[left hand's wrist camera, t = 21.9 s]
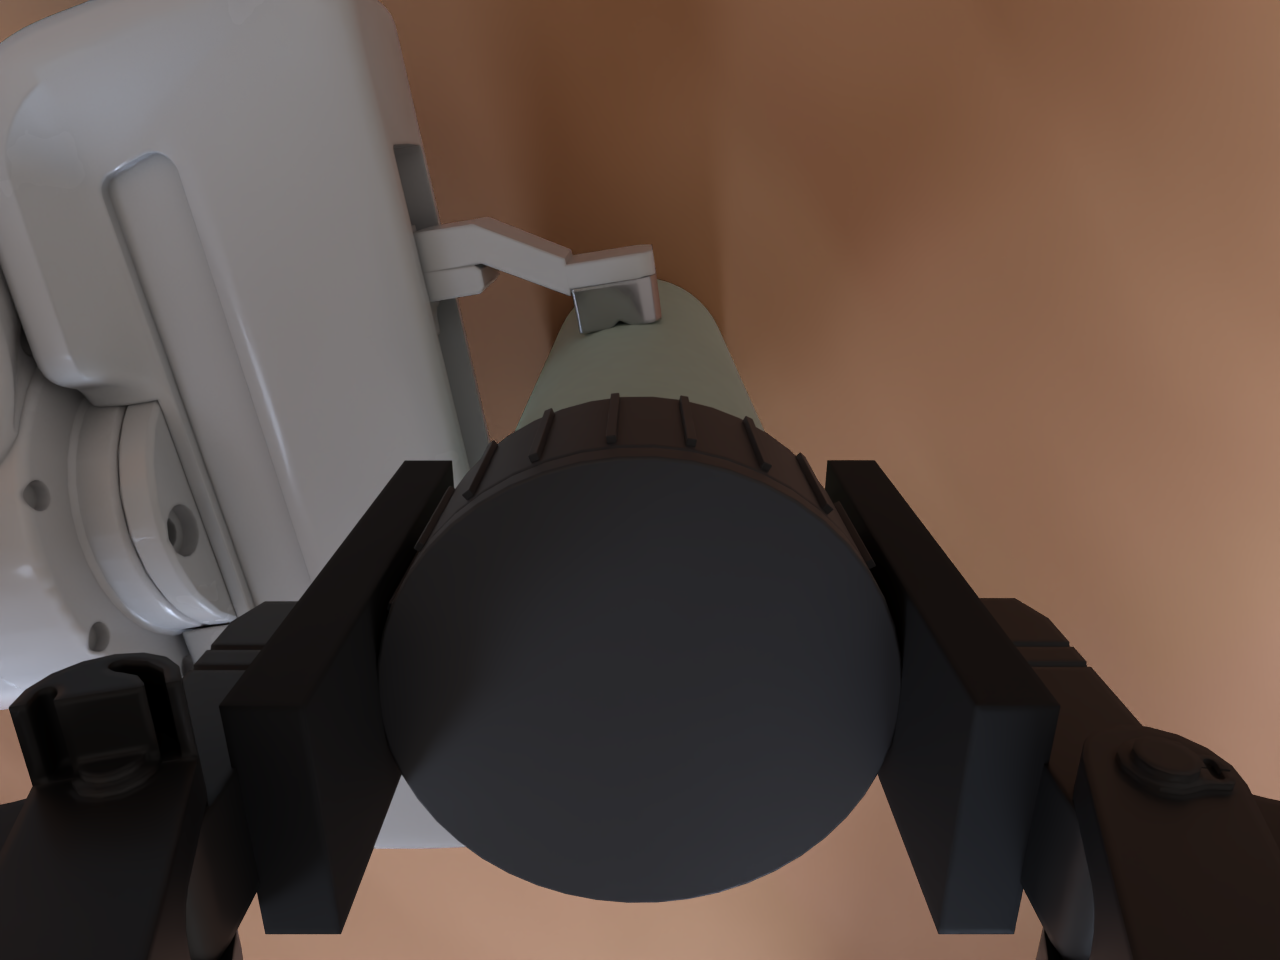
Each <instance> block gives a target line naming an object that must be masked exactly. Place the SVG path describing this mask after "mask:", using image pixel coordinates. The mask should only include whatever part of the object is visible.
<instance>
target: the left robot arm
mask: <svg viewBox="0 0 1280 960" xmlns="http://www.w3.org/2000/svg"><path fill="white" fill-rule="evenodd" d="M449 486H451V487H453V488H454V478H453V466H452V460H405V461H404V462H403V463H402V465H401V466H400V467H399V469H398V470H397V471H396V473H395V474H394V475H393V477H392V478H391V479H390V481H389V482H388V483H387V485H386V486H385V487H384V488H383V490H382V491H381V492H380V494H379V495H378V496H377V498H376V499H375V500H374V502H373V503H372V504H371V506H370V507H369V508H368V510H367V511H366V512H365V514H364V515H363V516H362V517H361V519H360V520H359V521H358V523H357V524H356V525H355V527H354V528H353V529H352V531H351V532H350V533H349V535H348V536H347V537H346V539H345V540H344V541H343V543H342V544H341V545H340V546H339V548H338V549H337V550H336V552H335V553H334V554H333V556H332V557H331V558H330V560H329V561H328V562H327V564H326V565H325V566H324V568H323V569H322V570H321V572H320V573H319V574H318V576H317V577H316V578H315V579H314V581H313V582H312V583H311V585H310V586H309V587H308V589H307V590H306V591H305V593H304V594H303V595H302V597H301V598H300V599H299V601H264V602H263V603H261V604H259V605H258V606H256V607H254V608H253V609H251V610H250V611H248V612H246V613H245V614H243V615H241V616H240V617H238V618H236V619H235V620H233V621H231V622H230V624H229V625H228V626H227V627H226V628H225V629H224V631H223V632H222V633H221V634H220V635H219V636H218V637H217V639H216V640H215V641H214V642H213V643H212V644H211V649H210V650H206V651H205V652H204V654H203V655H202V656H201V657H200V658H199V659H198V661H197V662H196V663H195V664H194V668H193V670H189V671H188V672H187V673H186V674H185V676H184V677H183V678H182V676H181V671H180V667H179V666H178V665H177V664H176V663H174V662H173V661H172V660H170V659H169V658H168V657H166V656H161V655H155V654H150V653H145V652H142V653H124V654H113V655H108V656H104V657H100V658H95V659H91V660H86V661H82V662H80V663H77V664H75V665H72V666H70V667H67V668H65V669H62V670H59V671H57V672H54V673H52V674H50V675H48V676H47V677H45V678H43V679H42V680H40V681H39V682H37V683H35V684H34V685H32V686H30V687H29V688H27V689H25V690H24V691H23V692H22V694H21V695H20V696H19V697H18V698H17V699H16V700H15V701H14V702H13V703H12V704H11V705H10V706H9V711H10V714H11V717H12V720H13V724H14V727H15V730H16V733H17V737H18V740H19V743H20V746H21V750H22V753H23V756H24V759H25V763H26V766H27V769H28V772H29V776H30V779H31V782H32V785H33V787H32V789H31V791H30V793H29V795H28V797H27V799H23V800H20V801H16V802H12V803H7V804H2V805H0V960H243V955H242V948H241V944H240V939H239V935H238V930H237V929H238V927H239V925H240V923H241V921H242V919H243V918H244V916H245V914H246V912H247V910H248V908H249V906H250V904H251V902H252V900H253V898H254V896H255V894H256V892H257V895H258V900H259V905H260V909H261V914H262V919H263V924H264V929H265V934H341V932H342V930H343V927H344V925H345V922H346V919H347V917H348V914H349V912H350V909H351V906H352V904H353V901H354V898H355V896H356V893H357V891H358V888H359V885H360V883H361V880H362V877H363V875H364V872H365V870H366V867H367V864H368V862H369V859H370V856H371V854H372V851H373V849H374V846H375V843H376V841H377V838H378V835H379V833H380V830H381V828H382V825H383V822H384V820H385V817H386V814H387V812H388V809H389V807H390V804H391V801H392V799H393V796H394V793H395V791H396V788H397V786H398V783H399V780H400V778H401V775H402V774H401V772H400V770H399V768H398V765H397V763H396V761H395V759H394V757H393V755H392V753H391V750H390V748H389V745H388V741H387V738H386V735H385V731H384V725H383V718H382V711H381V703H380V695H379V686H378V676H377V660H378V654H379V649H380V643H381V637H382V631H383V628H384V625H385V622H386V620H387V617H388V614H389V611H388V610H387V607H388V603H389V601H390V599H391V598H392V596H393V594H394V592H395V590H396V589H397V587H398V585H399V583H400V581H401V580H402V578H403V576H404V574H405V572H406V571H407V569H408V567H409V565H410V563H411V562H412V560H413V558H414V556H415V554H416V553H417V550H415V549H414V546H415V545H416V543H417V541H418V539H419V538H420V536H421V534H422V532H423V531H424V529H425V527H426V525H427V524H428V522H429V520H430V518H431V517H432V515H433V513H434V511H435V510H436V508H437V506H438V504H439V503H440V501H441V499H442V497H443V496H444V494H445V492H446V490H447V489H448V487H449ZM825 490H826V492H827V493H828V495H829V497H830V499H831V501H832V502H833V504H834V503H836V502H838V501H840V503H841V505H842V507H843V508H844V510H845V512H846V514H847V515H848V517H849V519H850V521H851V522H852V524H853V526H854V528H855V529H856V531H857V533H858V535H859V536H860V538H861V540H862V542H863V544H864V545H865V547H866V549H867V551H868V552H869V554H870V556H871V558H872V559H873V561H874V563H875V565H876V566H875V567H873V568H871V569H869V570H870V572H871V573H872V575H873V577H874V579H875V581H876V583H877V584H878V586H879V588H880V590H881V592H882V594H883V595H884V597H885V600H886V602H887V605H888V608H889V611H890V613H891V616H892V619H893V621H894V624H895V627H896V632H897V637H898V642H899V647H900V652H901V662H902V681H901V690H900V698H899V706H898V714H897V721H896V728H895V732H894V736H893V739H892V743H891V746H890V748H889V750H888V753H887V755H886V757H885V759H884V762H883V764H882V766H881V769H880V771H879V772H878V776H879V779H880V782H881V784H882V787H883V790H884V792H885V795H886V797H887V800H888V803H889V805H890V808H891V811H892V813H893V816H894V818H895V821H896V824H897V826H898V829H899V832H900V834H901V837H902V839H903V842H904V845H905V847H906V850H907V853H908V855H909V858H910V860H911V863H912V866H913V868H914V871H915V874H916V876H917V879H918V881H919V884H920V887H921V889H922V892H923V895H924V897H925V900H926V902H927V905H928V908H929V910H930V913H931V915H932V918H933V921H934V923H935V926H936V929H937V931H938V934H1014V931H1015V926H1016V921H1017V916H1018V912H1019V907H1020V902H1021V897H1022V892H1023V889H1024V891H1025V893H1026V895H1027V897H1028V899H1029V900H1030V902H1031V904H1032V906H1033V908H1034V910H1035V912H1036V914H1037V916H1038V918H1039V920H1040V922H1041V924H1042V926H1043V930H1042V935H1041V939H1040V944H1039V948H1038V953H1037V957H1036V960H1280V801H1278V800H1273V799H1268V798H1264V797H1260V796H1256V795H1253V794H1252V793H1251V791H1250V789H1249V787H1248V785H1247V784H1246V783H1245V781H1244V780H1243V779H1242V778H1241V776H1240V775H1239V774H1238V773H1237V771H1236V770H1235V769H1234V768H1233V766H1232V765H1230V764H1229V763H1227V762H1226V761H1225V760H1223V759H1222V758H1220V757H1219V756H1218V755H1216V754H1215V753H1213V752H1212V751H1211V750H1209V749H1208V748H1206V747H1204V746H1201V745H1199V744H1197V743H1195V742H1193V741H1190V740H1188V739H1186V738H1184V737H1182V736H1179V735H1177V734H1173V733H1169V732H1166V731H1162V730H1158V729H1154V728H1150V727H1145V726H1142V725H1141V724H1140V723H1139V721H1138V720H1137V719H1136V718H1135V717H1134V716H1133V715H1132V713H1131V712H1130V711H1129V710H1128V709H1127V708H1126V706H1125V705H1124V704H1123V703H1122V702H1121V701H1120V700H1119V698H1118V697H1117V696H1116V695H1115V694H1114V693H1113V692H1112V690H1111V689H1110V688H1109V687H1108V686H1107V685H1106V684H1105V682H1104V681H1103V680H1102V679H1101V678H1100V677H1099V676H1098V674H1097V673H1096V672H1095V671H1094V670H1093V669H1092V668H1091V667H1087V665H1086V661H1085V660H1084V658H1083V657H1082V656H1081V655H1080V654H1079V653H1078V652H1077V650H1076V649H1075V648H1074V647H1070V646H1069V641H1068V640H1067V639H1066V638H1065V637H1064V636H1063V634H1062V633H1061V632H1060V631H1059V630H1058V629H1057V628H1056V626H1055V625H1054V624H1053V623H1052V622H1051V621H1050V620H1049V618H1047V617H1045V616H1044V615H1042V614H1040V613H1039V612H1037V611H1035V610H1034V609H1032V608H1030V607H1029V606H1027V605H1025V604H1024V603H1022V602H1020V601H1019V600H1017V599H1015V598H979V597H978V596H977V595H976V593H975V592H974V591H973V589H972V588H971V587H970V585H969V584H968V583H967V582H966V580H965V579H964V578H963V576H962V575H961V574H960V572H959V571H958V570H957V568H956V567H955V566H954V564H953V563H952V562H951V560H950V559H949V558H948V556H947V555H946V554H945V552H944V551H943V550H942V549H941V547H940V546H939V545H938V543H937V542H936V541H935V539H934V538H933V537H932V535H931V534H930V533H929V531H928V530H927V529H926V527H925V526H924V525H923V523H922V522H921V521H920V519H919V518H918V517H917V516H916V514H915V513H914V512H913V510H912V509H911V508H910V506H909V505H908V504H907V502H906V501H905V500H904V498H903V497H902V496H901V494H900V493H899V492H898V490H897V489H896V488H895V487H894V485H893V484H892V483H891V481H890V480H889V479H888V477H887V476H886V475H885V473H884V472H883V471H882V469H881V468H880V467H879V465H878V464H877V463H876V461H875V460H827V472H826V484H825Z"/></svg>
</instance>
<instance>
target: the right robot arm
mask: <svg viewBox="0 0 1280 960" xmlns="http://www.w3.org/2000/svg"><path fill="white" fill-rule="evenodd" d="M499 270H500V271H503V272H506V273H508V274H511V275H514V276H517V277H519V278H522V279H525V280H528V281H530V282H533V283H536V284H538V285H541V286H544V287H547V288H549V289H552V290H555V291H558V292H560V293H563V294H566V295H568V296H571V294H572V297H573V302H574V307H575V312H576V317H577V321H578V326H579V331H580V334H582V333H589V332H596V331H602V330H605V329H609V328H612V327H613V326H614V325H616V324H617V323H618V322H619V321H622V322H624V323H627V324H629V325H642V324H647V323H651V322H655V321H657V320H659V319H661V318H662V313H661V305H660V297H659V290H658V282H657V275H656V268H655V262H654V255H653V249H652V245H650V244H647V245H633V246H627V247H620V248H614V249H608V250H601V251H595V252H589V253H583V254H576V255H572V251H571V249H569V248H566V247H564V246H561V245H559V244H556V243H554V242H551V241H549V240H546V239H544V238H541V237H539V236H536V235H534V234H531V233H529V232H526V231H524V230H521V229H519V228H516V227H514V226H511V225H509V224H506V223H504V222H501V221H499V220H496V219H494V218H491V217H483V218H477V219H471V220H465V221H459V222H452V223H446V224H441V222H440V218H439V213H438V209H437V204H436V200H435V196H434V191H433V187H432V182H431V178H430V174H429V169H428V165H427V160H426V156H425V152H424V147H423V143H422V138H421V134H420V130H419V125H418V121H417V116H416V112H415V108H414V103H413V99H412V95H411V90H410V86H409V81H408V77H407V73H406V68H405V64H404V59H403V55H402V50H401V46H400V41H399V37H398V33H397V29H396V25H395V22H394V20H393V17H392V15H391V14H390V12H389V11H388V10H387V8H386V7H385V6H384V5H383V4H382V3H381V2H379V1H378V0H90V1H87V2H85V3H82V4H79V5H77V6H74V7H71V8H69V9H66V10H64V11H61V12H59V13H56V14H53V15H51V16H48V17H46V18H43V19H41V20H39V21H37V22H35V23H33V24H30V25H28V26H26V27H24V28H22V29H21V30H19V31H17V32H16V33H14V34H12V35H11V36H9V37H8V38H6V39H5V40H4V41H2V42H1V43H0V710H4V709H9V706H10V705H11V704H12V703H13V702H14V701H15V700H16V699H17V698H18V697H19V696H20V695H21V694H22V692H23V691H24V690H25V689H27V688H29V687H30V686H32V685H34V684H35V683H37V682H39V681H40V680H42V679H43V678H45V677H47V676H48V675H50V674H52V673H54V672H57V671H59V670H62V669H65V668H67V667H70V666H72V665H75V664H77V663H80V662H82V661H86V660H91V659H95V658H100V657H104V656H108V655H113V654H124V653H142V652H145V653H150V654H155V655H161V656H166V657H168V658H169V659H170V660H172V661H173V662H174V663H176V664H177V665H178V666H179V667H180V671H181V676H182V678H183V677H184V676H185V674H186V673H187V672H188V671H189V670H193V668H194V664H195V663H196V662H197V661H198V659H199V658H200V657H201V656H202V655H203V654H204V652H205V651H206V650H210V649H211V644H212V643H213V642H214V641H215V640H216V639H217V637H218V636H219V635H220V634H221V633H222V632H223V631H224V629H225V628H226V627H227V626H228V625H229V624H230V622H231V621H233V620H235V619H236V618H238V617H240V616H241V615H243V614H245V613H246V612H248V611H250V610H251V609H253V608H254V607H256V606H258V605H259V604H261V603H263V602H264V601H299V599H300V598H301V597H302V595H303V594H304V593H305V591H306V590H307V589H308V587H309V586H310V585H311V583H312V582H313V581H314V579H315V578H316V577H317V576H318V574H319V573H320V572H321V570H322V569H323V568H324V566H325V565H326V564H327V562H328V561H329V560H330V558H331V557H332V556H333V554H334V553H335V552H336V550H337V549H338V548H339V546H340V545H341V544H342V543H343V541H344V540H345V539H346V537H347V536H348V535H349V533H350V532H351V531H352V529H353V528H354V527H355V525H356V524H357V523H358V521H359V520H360V519H361V517H362V516H363V515H364V514H365V512H366V511H367V510H368V508H369V507H370V506H371V504H372V503H373V502H374V500H375V499H376V498H377V496H378V495H379V494H380V492H381V491H382V490H383V488H384V487H385V486H386V485H387V483H388V482H389V481H390V479H391V478H392V477H393V475H394V474H395V473H396V471H397V470H398V469H399V467H400V466H401V465H402V463H403V462H404V461H405V460H452V466H453V478H454V489H455V488H456V487H457V486H458V484H459V483H460V482H461V480H462V479H463V477H464V476H465V475H466V473H467V472H468V471H469V470H470V469H471V468H472V467H473V466H474V465H475V464H476V463H477V462H478V461H479V460H480V459H481V457H482V455H483V453H484V451H485V449H486V447H487V445H488V444H489V443H490V437H489V433H488V429H487V424H486V420H485V415H484V411H483V407H482V402H481V398H480V393H479V389H478V385H477V380H476V376H475V371H474V367H473V363H472V358H471V354H470V349H469V345H468V341H467V336H466V332H465V327H464V323H463V319H462V314H461V310H460V305H459V301H458V297H464V296H470V295H475V294H481V293H482V292H483V291H484V290H485V289H486V288H487V287H488V286H489V285H490V284H492V283H493V282H494V281H495V280H496V279H497V277H498V276H499V275H500V273H499ZM456 847H466V846H464V845H463V844H461V843H460V842H459V841H457V840H456V839H455V838H454V837H453V836H452V835H451V834H450V833H449V832H448V831H446V830H445V829H444V828H443V827H442V826H441V825H440V824H439V823H438V822H437V821H436V820H435V819H434V818H433V817H432V815H431V814H430V813H429V812H428V811H427V810H426V808H425V807H424V806H423V805H422V804H421V803H420V801H419V800H418V799H417V797H416V796H415V794H414V793H413V791H412V790H411V788H410V787H409V785H408V784H407V782H406V780H405V779H404V777H403V776H402V775H401V778H400V780H399V783H398V786H397V788H396V791H395V793H394V796H393V799H392V801H391V804H390V807H389V809H388V812H387V814H386V817H385V820H384V822H383V825H382V828H381V830H380V833H379V835H378V838H377V841H376V843H375V846H374V849H430V848H456Z"/></svg>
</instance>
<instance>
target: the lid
mask: <svg viewBox="0 0 1280 960" xmlns="http://www.w3.org/2000/svg"><path fill="white" fill-rule="evenodd" d="M414 549H415V550H417V553H416V554H415V556H414V558H413V560H412V562H411V563H410V565H409V567H408V569H407V571H406V572H405V574H404V576H403V578H402V580H401V581H400V583H399V585H398V587H397V589H396V590H395V592H394V594H393V596H392V598H391V599H390V601H389V603H388V607H387V610H388V611H389V614H388V617H387V620H386V622H385V625H384V628H383V631H382V637H381V643H380V649H379V654H378V660H377V676H378V686H379V695H380V703H381V711H382V718H383V725H384V731H385V735H386V738H387V741H388V745H389V748H390V750H391V753H392V755H393V757H394V759H395V761H396V763H397V765H398V768H399V770H400V772H401V774H402V776H403V777H404V779H405V780H406V782H407V784H408V785H409V787H410V788H411V790H412V791H413V793H414V794H415V796H416V797H417V799H418V800H419V801H420V803H421V804H422V805H423V806H424V807H425V808H426V810H427V811H428V812H429V813H430V814H431V815H432V817H433V818H434V819H435V820H436V821H437V822H438V823H439V824H440V825H441V826H442V827H443V828H444V829H445V830H446V831H448V832H449V833H450V834H451V835H452V836H453V837H454V838H455V839H456V840H457V841H459V842H460V843H461V844H463V845H464V846H466V847H467V848H468V849H470V850H471V851H473V852H474V853H475V854H477V855H478V856H480V857H481V858H482V859H484V860H486V861H488V862H489V863H491V864H493V865H495V866H497V867H498V868H500V869H502V870H504V871H506V872H507V873H509V874H512V875H514V876H516V877H519V878H521V879H524V880H526V881H528V882H531V883H533V884H535V885H538V886H541V887H545V888H548V889H551V890H555V891H558V892H561V893H565V894H569V895H574V896H579V897H584V898H590V899H595V900H604V901H615V902H626V903H638V902H665V901H674V900H684V899H691V898H695V897H700V896H705V895H709V894H714V893H719V892H722V891H725V890H728V889H731V888H734V887H737V886H740V885H743V884H747V883H749V882H751V881H754V880H756V879H758V878H760V877H763V876H765V875H767V874H769V873H772V872H774V871H776V870H778V869H779V868H781V867H783V866H784V865H786V864H788V863H790V862H791V861H793V860H795V859H796V858H798V857H800V856H802V855H803V854H804V853H806V852H807V851H808V850H810V849H811V848H812V847H814V846H815V845H816V844H818V843H819V842H820V841H822V840H823V839H824V838H825V837H826V836H828V835H829V834H830V833H831V832H832V831H833V830H834V829H835V828H836V827H837V826H838V825H839V824H840V823H841V822H842V821H843V820H844V819H845V818H846V817H847V816H848V815H849V814H850V812H851V811H852V810H853V809H854V807H855V806H856V805H857V804H858V803H859V801H860V800H861V799H862V798H863V796H864V795H865V794H866V792H867V790H868V789H869V787H870V785H871V784H872V782H873V781H874V779H875V777H876V776H877V774H878V772H879V771H880V769H881V766H882V764H883V762H884V759H885V757H886V755H887V753H888V750H889V748H890V746H891V743H892V739H893V736H894V732H895V728H896V721H897V714H898V706H899V698H900V690H901V681H902V662H901V652H900V647H899V642H898V637H897V632H896V627H895V624H894V621H893V619H892V616H891V613H890V611H889V608H888V605H887V602H886V600H885V597H884V595H883V594H882V592H881V590H880V588H879V586H878V584H877V583H876V581H875V579H874V577H873V575H872V573H871V572H870V570H869V569H871V568H873V567H875V566H876V565H875V563H874V561H873V559H872V558H871V556H870V554H869V552H868V551H867V549H866V547H865V545H864V544H863V542H862V540H861V538H860V536H859V535H858V533H857V531H856V529H855V528H854V526H853V524H852V522H851V521H850V519H849V517H848V515H847V514H846V512H845V510H844V508H843V507H842V505H841V503H840V501H838V502H836V503H834V504H833V502H832V501H831V499H830V497H829V495H828V493H827V492H826V490H825V489H824V488H823V486H822V485H821V484H820V483H819V481H818V480H817V478H816V476H815V474H814V472H813V470H812V469H811V467H810V465H809V463H808V461H807V459H806V457H805V456H804V455H803V454H802V453H799V454H798V455H797V456H795V455H794V454H793V453H792V452H791V451H790V450H789V449H788V448H786V447H785V446H784V445H782V444H781V443H780V442H778V441H777V440H776V439H774V438H773V437H771V436H770V435H769V434H767V433H766V432H764V431H762V430H761V429H759V428H757V427H756V426H755V424H754V421H753V419H751V418H749V417H747V416H745V418H744V419H743V420H742V419H741V418H738V417H736V416H733V415H730V414H728V413H725V412H723V411H720V410H718V409H715V408H712V407H708V406H704V405H700V404H696V403H692V402H689V398H688V397H687V396H682V395H681V396H680V399H679V400H677V399H669V398H660V397H620V395H619V393H612V394H611V397H610V399H603V400H596V401H590V402H586V403H583V404H579V405H575V406H572V407H568V408H564V409H561V410H559V411H556V412H554V411H553V409H552V408H550V409H548V410H545V411H544V414H543V417H542V418H539V419H537V420H535V421H533V422H531V423H529V424H528V425H526V426H524V427H522V428H521V429H519V430H517V431H516V432H514V433H512V434H510V435H509V436H507V437H506V438H505V439H504V440H502V441H501V442H500V443H498V444H497V443H496V442H495V441H494V440H493V441H492V442H490V443H489V444H488V445H487V447H486V449H485V451H484V453H483V455H482V457H481V459H480V460H479V461H478V462H477V463H476V464H475V465H474V466H473V467H472V468H471V469H470V470H469V471H468V472H467V473H466V475H465V476H464V477H463V479H462V480H461V482H460V483H459V484H458V486H457V487H456V488H455V489H454V488H453V487H451V486H449V487H448V489H447V490H446V492H445V494H444V496H443V497H442V499H441V501H440V503H439V504H438V506H437V508H436V510H435V511H434V513H433V515H432V517H431V518H430V520H429V522H428V524H427V525H426V527H425V529H424V531H423V532H422V534H421V536H420V538H419V539H418V541H417V543H416V545H415V546H414Z"/></svg>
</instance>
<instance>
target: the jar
mask: <svg viewBox="0 0 1280 960" xmlns="http://www.w3.org/2000/svg"><path fill="white" fill-rule="evenodd" d="M657 282H658V290H659V297H660V305H661V313H662V318H661V319H659V320H657V321H655V322H651V323H647V324H642V325H629V324H627V323H624V322H622V321H619V322H618V323H617V324H616V325H614V326H613V327H612V328H609V329H605V330H602V331H596V332H589V333H582V334H580V331H579V326H578V321H577V317H576V312H575V307H574V308H573V309H572V311H571V312H570V313H569V314H568V316H567V318H566V319H565V321H564V323H563V325H562V327H561V329H560V331H559V333H558V336H557V338H556V340H555V342H554V344H553V347H552V349H551V351H550V353H549V356H548V358H547V360H546V362H545V365H544V367H543V369H542V371H541V374H540V376H539V378H538V380H537V383H536V385H535V387H534V389H533V392H532V394H531V396H530V398H529V401H528V403H527V405H526V407H525V410H524V412H523V414H522V416H521V418H520V421H519V423H518V425H517V427H516V430H515V432H516V431H517V430H519V429H521V428H522V427H524V426H526V425H528V424H529V423H531V422H533V421H535V420H537V419H539V418H542V417H543V414H544V411H545V410H548V409H550V408H552V409H553V411H554V412H556V411H559V410H561V409H564V408H568V407H572V406H575V405H579V404H583V403H586V402H590V401H596V400H603V399H610V397H611V394H612V393H619V395H620V397H660V398H669V399H677V400H679V399H680V396H681V395H682V396H687V397H688V398H689V402H692V403H696V404H700V405H704V406H708V407H712V408H715V409H718V410H720V411H723V412H725V413H728V414H730V415H733V416H736V417H738V418H741V419H742V420H743V419H744V418H745V416H747V417H749V418H751V419H753V421H754V424H755V426H756V427H757V428H759V429H761V430H762V431H764V429H763V427H762V424H761V422H760V420H759V418H758V415H757V413H756V411H755V409H754V406H753V404H752V402H751V400H750V398H749V395H748V393H747V391H746V389H745V386H744V384H743V382H742V380H741V377H740V375H739V373H738V371H737V368H736V366H735V364H734V362H733V359H732V357H731V355H730V353H729V350H728V348H727V346H726V344H725V341H724V339H723V337H722V335H721V332H720V330H719V328H718V326H717V324H716V322H715V320H714V318H713V317H712V316H711V314H710V313H709V311H708V310H707V309H706V308H705V307H704V305H703V304H702V303H701V302H700V301H699V300H698V299H696V298H695V297H694V296H693V295H691V294H690V293H689V292H687V291H685V290H684V289H682V288H681V287H678V286H676V285H674V284H672V283H669V282H666V281H662V280H659V279H657ZM764 432H765V431H764Z"/></svg>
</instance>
